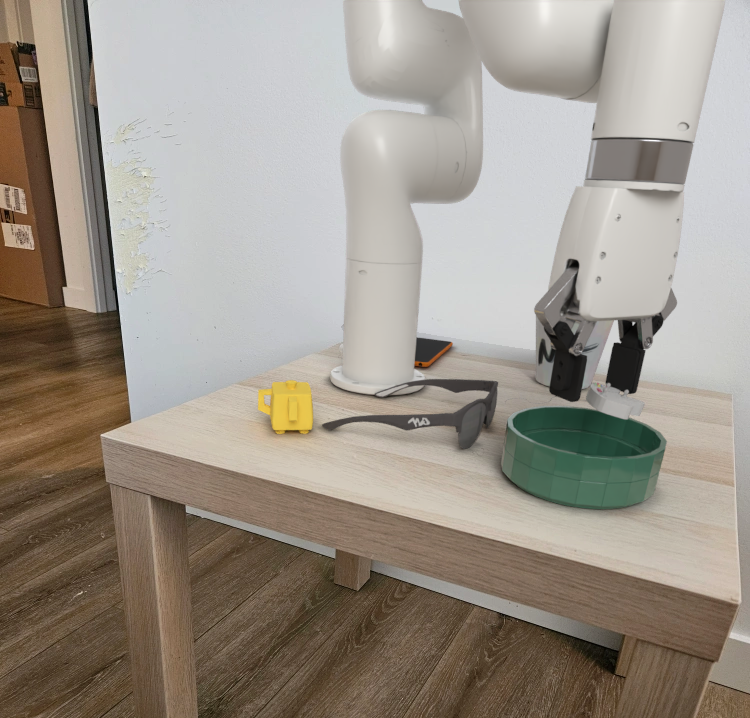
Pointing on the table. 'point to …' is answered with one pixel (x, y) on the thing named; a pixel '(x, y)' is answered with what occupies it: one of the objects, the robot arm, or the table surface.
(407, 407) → the table surface
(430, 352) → the smartphone
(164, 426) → the table surface
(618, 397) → the game controller
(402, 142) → the robot arm
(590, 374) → the mug
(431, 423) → the sunglasses
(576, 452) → the bowl
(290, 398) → the teapot
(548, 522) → the table surface
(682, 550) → the table surface
